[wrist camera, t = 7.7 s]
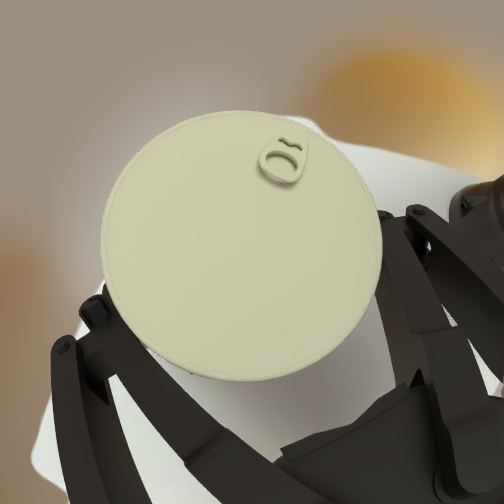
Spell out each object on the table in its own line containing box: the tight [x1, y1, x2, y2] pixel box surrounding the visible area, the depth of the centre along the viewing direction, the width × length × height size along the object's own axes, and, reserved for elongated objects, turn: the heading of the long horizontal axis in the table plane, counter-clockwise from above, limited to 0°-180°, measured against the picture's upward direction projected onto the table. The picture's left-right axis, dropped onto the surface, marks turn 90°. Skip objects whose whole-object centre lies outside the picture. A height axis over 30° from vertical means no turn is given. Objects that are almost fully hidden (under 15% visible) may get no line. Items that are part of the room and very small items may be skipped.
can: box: [100, 111, 382, 382], centre depth 14 cm, size 9×9×12 cm
